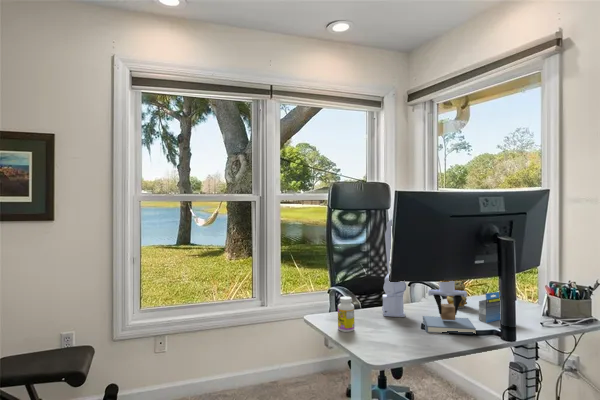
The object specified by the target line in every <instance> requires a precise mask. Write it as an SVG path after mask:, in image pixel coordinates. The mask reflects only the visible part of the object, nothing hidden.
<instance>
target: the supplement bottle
mask: <svg viewBox="0 0 600 400" xmlns="http://www.w3.org/2000/svg"><path fill="white" fill-rule="evenodd" d="M339 301H340V303H338V305H337V329H338V330H339V331H340V332H343V333H350V332H353V331H355V327H356V325H355V305H354V304H353V303H352V297H351V296H346V295H345V296H340V297H339Z"/></svg>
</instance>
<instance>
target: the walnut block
mask: <svg viewBox="0 0 600 400" xmlns="http://www.w3.org/2000/svg"><path fill="white" fill-rule="evenodd" d="M439 317H441V319H442V320H455V318H456V315H455V307H454V305H453V304H448V303H441V314H439Z"/></svg>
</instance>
